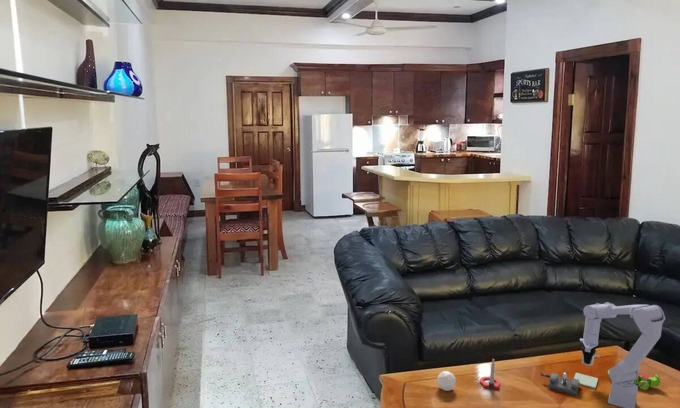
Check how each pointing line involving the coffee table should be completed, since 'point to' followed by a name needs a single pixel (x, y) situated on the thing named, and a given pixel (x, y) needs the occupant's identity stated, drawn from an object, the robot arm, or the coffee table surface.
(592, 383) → the set down mat
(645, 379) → the toy crocodile
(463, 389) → the coffee table surface
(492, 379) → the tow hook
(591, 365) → the hollow square tube
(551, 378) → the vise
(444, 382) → the geometric ball
